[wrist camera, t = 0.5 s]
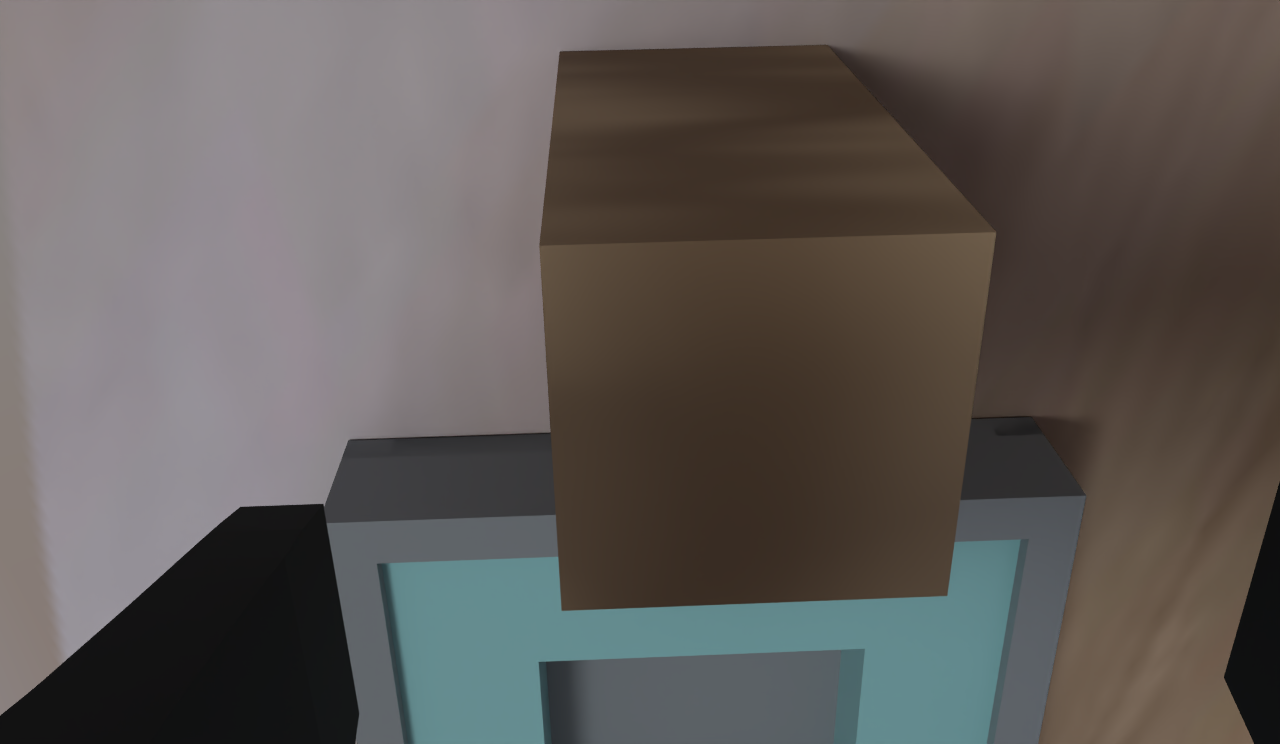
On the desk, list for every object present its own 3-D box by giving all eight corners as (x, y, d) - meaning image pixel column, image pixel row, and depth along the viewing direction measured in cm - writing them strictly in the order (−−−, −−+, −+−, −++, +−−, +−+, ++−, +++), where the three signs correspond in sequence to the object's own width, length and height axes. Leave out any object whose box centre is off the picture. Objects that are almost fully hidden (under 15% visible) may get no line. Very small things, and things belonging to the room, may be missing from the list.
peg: (826, 44, 17) (997, 232, 10) (812, 290, 19) (947, 596, 12) (560, 51, 17) (539, 246, 10) (571, 298, 19) (562, 611, 12)
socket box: (1031, 417, 20) (1086, 495, 18) (956, 880, 26) (991, 984, 24) (348, 441, 20) (318, 523, 18) (420, 905, 25) (404, 1013, 23)
